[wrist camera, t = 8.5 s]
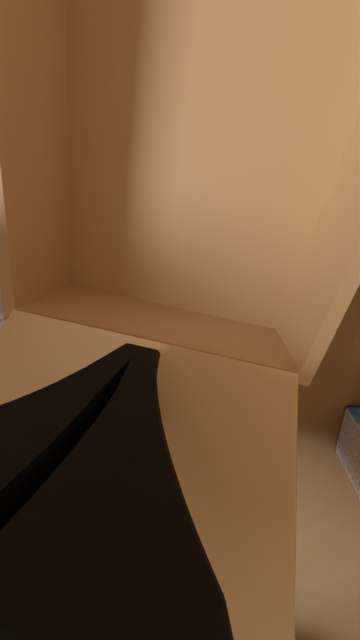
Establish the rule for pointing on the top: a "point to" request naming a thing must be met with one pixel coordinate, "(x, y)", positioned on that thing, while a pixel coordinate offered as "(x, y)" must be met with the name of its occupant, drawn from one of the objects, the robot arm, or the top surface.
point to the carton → (184, 171)
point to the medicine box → (350, 446)
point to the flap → (202, 454)
